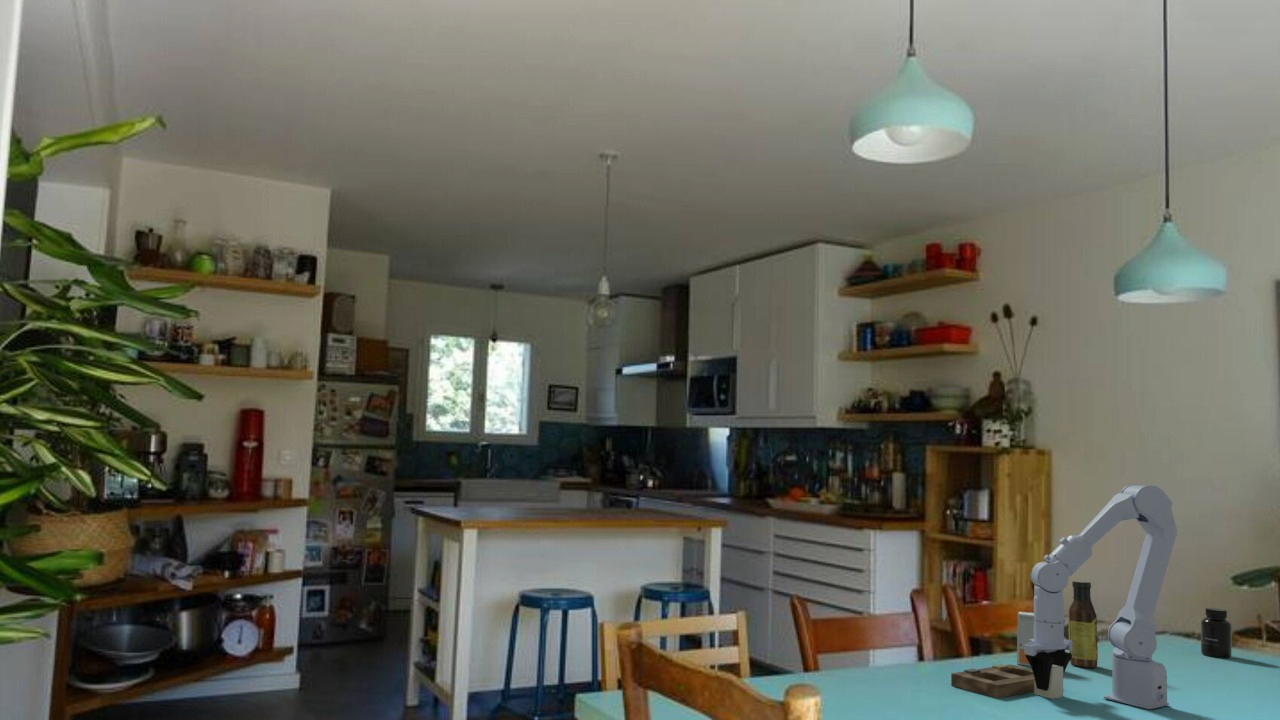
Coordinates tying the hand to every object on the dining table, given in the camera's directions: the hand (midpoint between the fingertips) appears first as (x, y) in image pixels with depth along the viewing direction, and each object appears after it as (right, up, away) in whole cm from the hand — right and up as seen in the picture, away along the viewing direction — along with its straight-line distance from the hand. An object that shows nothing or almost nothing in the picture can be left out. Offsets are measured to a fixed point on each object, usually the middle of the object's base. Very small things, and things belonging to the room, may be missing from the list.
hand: (1048, 688), depth 192 cm
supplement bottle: (+66, -10, +51) cm, 84 cm away
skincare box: (+9, -5, +29) cm, 31 cm away
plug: (0, -1, 0) cm, 1 cm away
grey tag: (-13, +1, +7) cm, 15 cm away
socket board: (-7, -2, +6) cm, 9 cm away
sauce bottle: (+22, -6, +31) cm, 38 cm away
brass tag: (-5, 0, +13) cm, 14 cm away
